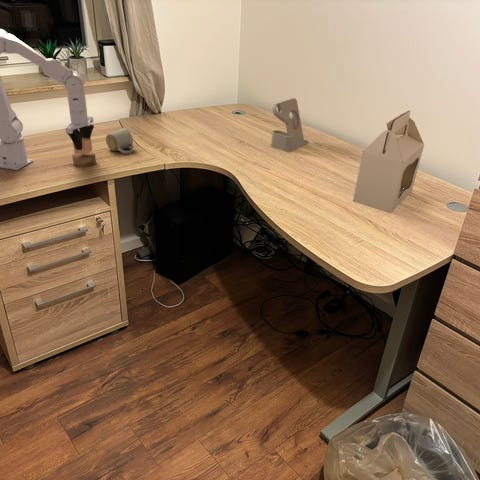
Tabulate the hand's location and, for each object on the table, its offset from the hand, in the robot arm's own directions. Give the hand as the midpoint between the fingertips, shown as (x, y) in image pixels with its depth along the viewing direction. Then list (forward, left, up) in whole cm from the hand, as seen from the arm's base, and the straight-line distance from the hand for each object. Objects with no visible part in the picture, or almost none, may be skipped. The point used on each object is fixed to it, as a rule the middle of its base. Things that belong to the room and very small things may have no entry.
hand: (82, 147), depth 170 cm
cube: (0, 0, -2) cm, 2 cm away
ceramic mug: (+17, -6, -6) cm, 19 cm away
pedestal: (0, 0, -6) cm, 6 cm away
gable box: (+13, -107, -6) cm, 108 cm away
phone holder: (+51, -67, -6) cm, 85 cm away
